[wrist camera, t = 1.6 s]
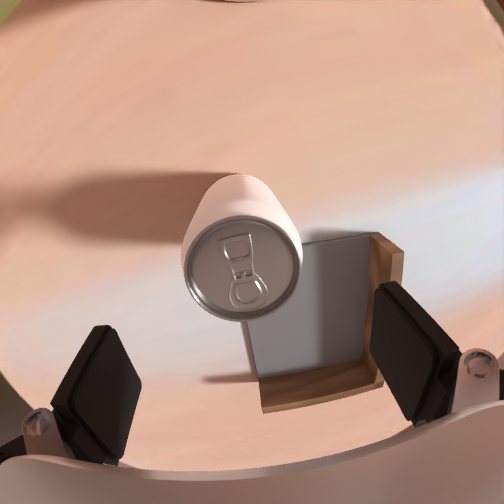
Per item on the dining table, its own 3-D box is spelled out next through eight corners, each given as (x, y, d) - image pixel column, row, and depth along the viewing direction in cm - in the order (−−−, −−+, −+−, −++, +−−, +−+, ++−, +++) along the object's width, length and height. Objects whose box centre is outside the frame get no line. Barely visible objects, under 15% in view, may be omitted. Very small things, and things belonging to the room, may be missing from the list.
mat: (234, 255, 26) (234, 257, 26) (378, 232, 26) (380, 233, 26) (259, 382, 33) (259, 384, 32) (368, 359, 33) (369, 361, 32)
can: (211, 252, 26) (197, 338, 15) (192, 183, 24) (156, 225, 12) (282, 237, 26) (316, 313, 15) (268, 165, 23) (300, 192, 12)
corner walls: (234, 255, 26) (235, 281, 22) (378, 232, 26) (404, 251, 22) (259, 382, 33) (262, 413, 28) (368, 359, 33) (382, 386, 28)
